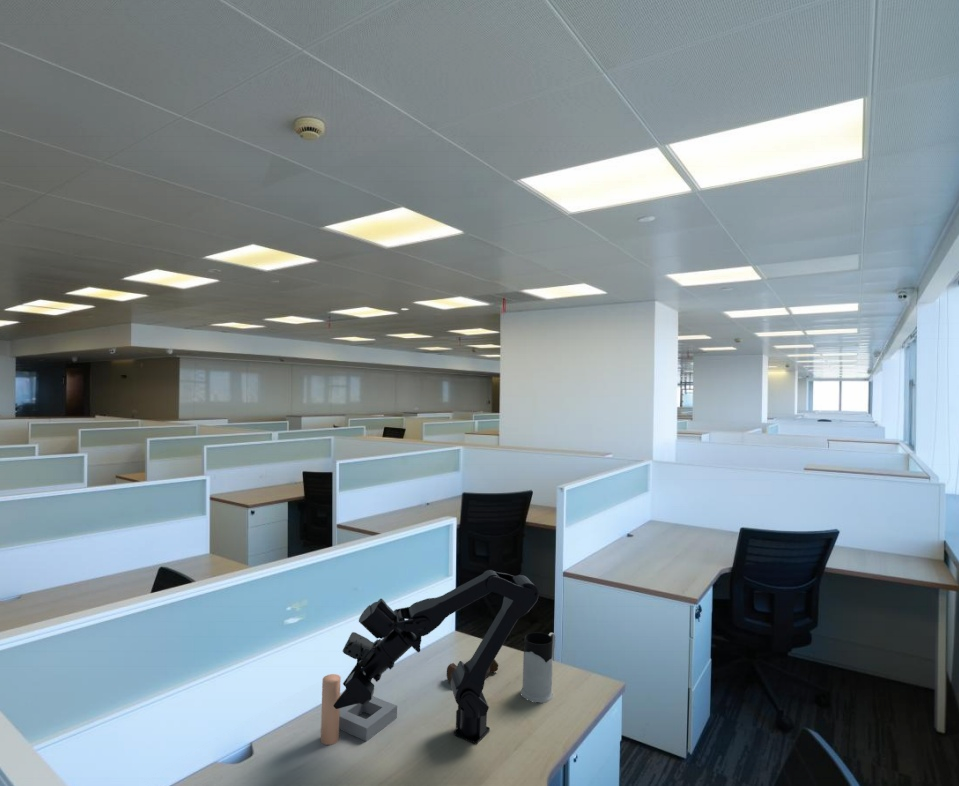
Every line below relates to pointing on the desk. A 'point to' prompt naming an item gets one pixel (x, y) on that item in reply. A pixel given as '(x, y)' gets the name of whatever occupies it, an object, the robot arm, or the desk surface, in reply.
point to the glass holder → (538, 667)
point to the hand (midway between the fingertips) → (339, 695)
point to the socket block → (368, 727)
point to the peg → (330, 709)
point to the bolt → (452, 667)
